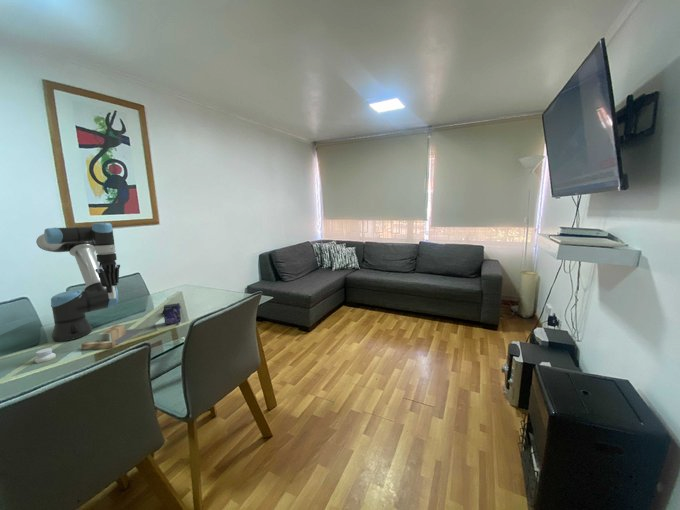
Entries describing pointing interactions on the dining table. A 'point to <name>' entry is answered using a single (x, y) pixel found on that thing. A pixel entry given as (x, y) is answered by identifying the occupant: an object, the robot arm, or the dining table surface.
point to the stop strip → (98, 345)
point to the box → (172, 313)
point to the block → (112, 333)
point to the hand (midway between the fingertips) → (112, 298)
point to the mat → (126, 335)
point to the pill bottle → (44, 355)
